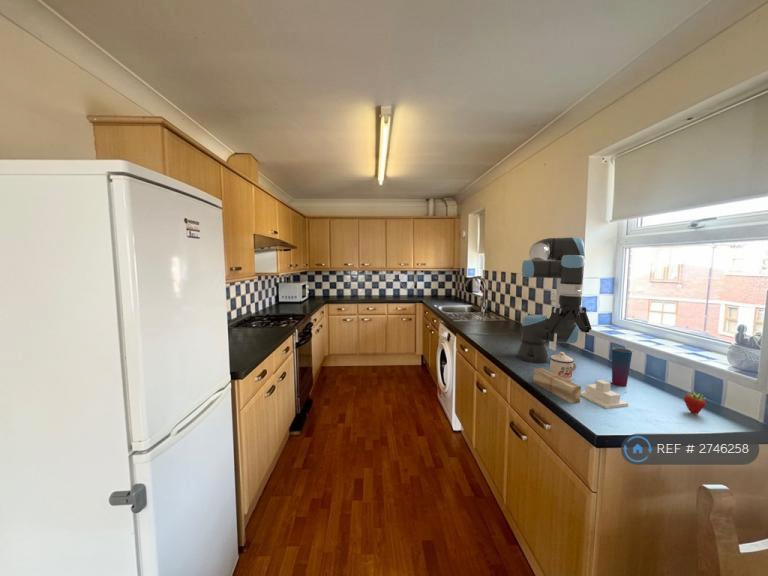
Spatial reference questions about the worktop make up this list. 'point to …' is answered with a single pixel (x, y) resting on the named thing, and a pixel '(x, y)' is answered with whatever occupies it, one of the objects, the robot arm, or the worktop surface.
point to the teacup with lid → (562, 365)
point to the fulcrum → (603, 395)
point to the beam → (557, 385)
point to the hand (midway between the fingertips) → (566, 348)
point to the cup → (620, 366)
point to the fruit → (694, 402)
